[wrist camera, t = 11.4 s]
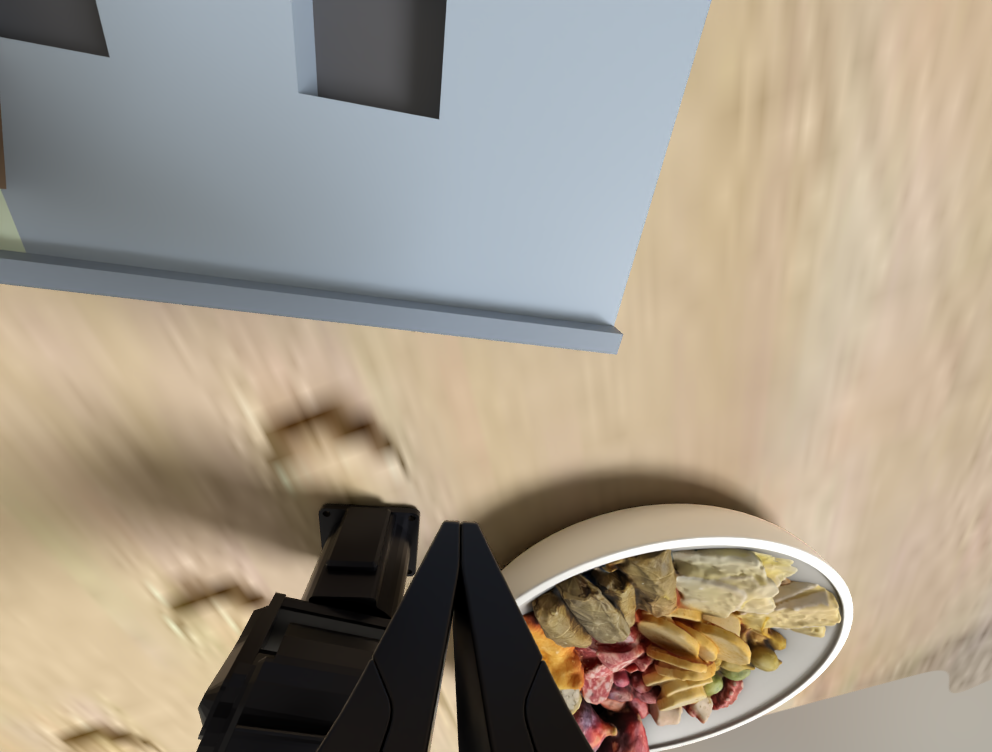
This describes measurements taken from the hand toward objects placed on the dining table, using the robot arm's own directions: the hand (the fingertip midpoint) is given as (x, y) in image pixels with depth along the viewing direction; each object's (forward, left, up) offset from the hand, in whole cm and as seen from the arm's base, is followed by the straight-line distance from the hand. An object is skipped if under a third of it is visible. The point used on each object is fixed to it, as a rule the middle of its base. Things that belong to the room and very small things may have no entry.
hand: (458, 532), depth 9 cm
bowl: (-23, -17, -12) cm, 31 cm away
